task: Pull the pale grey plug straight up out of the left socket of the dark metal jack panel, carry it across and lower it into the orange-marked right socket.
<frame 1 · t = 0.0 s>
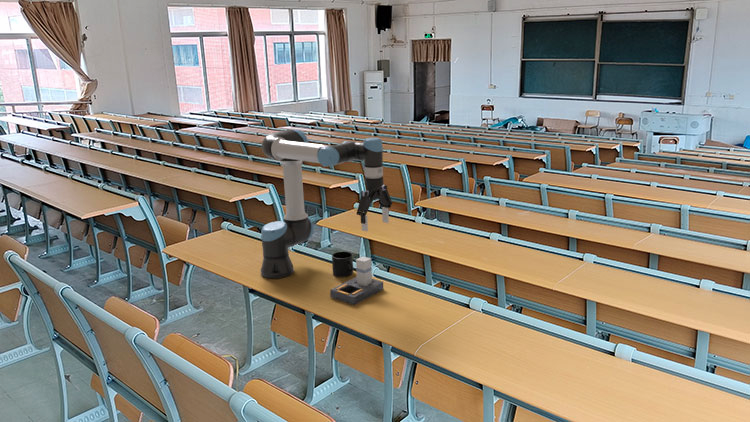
hand: (375, 226, 230), 28 cm above the table, fingers open, 13 cm apart
plug: (364, 289, 237), resting in jack panel
mug: (344, 274, 254), on the table
jack panel: (357, 293, 233), on the table
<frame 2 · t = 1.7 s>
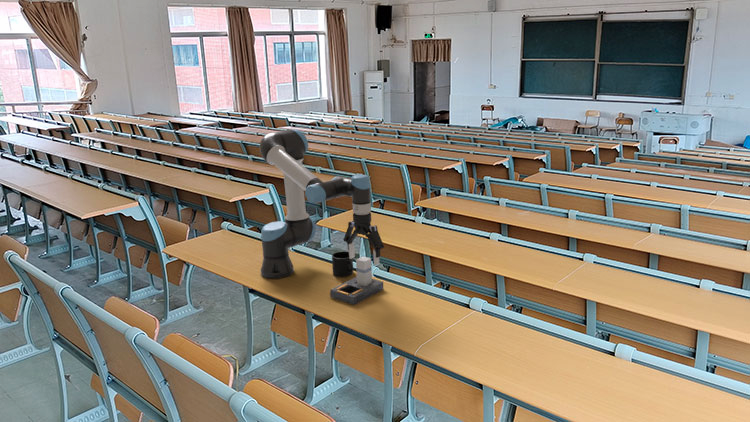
hand: (364, 261, 233), 13 cm above the table, fingers open, 13 cm apart
nothing on the table moved.
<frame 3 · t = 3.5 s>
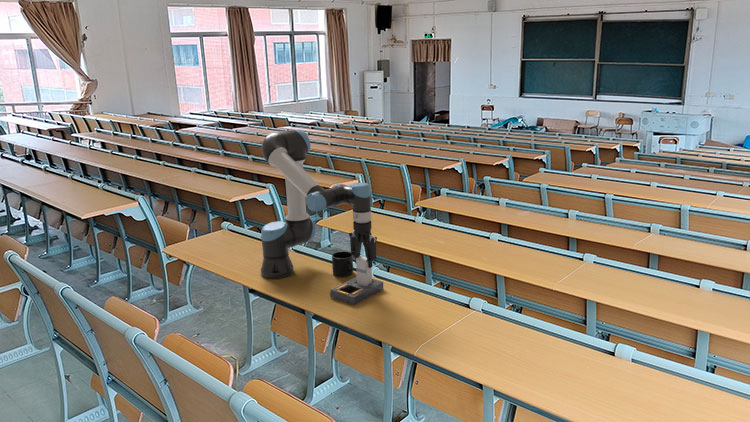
hand: (364, 272, 234), 8 cm above the table, fingers closed on plug, 5 cm apart
plug: (364, 289, 237), resting in jack panel, touching gripper
everything else where it was.
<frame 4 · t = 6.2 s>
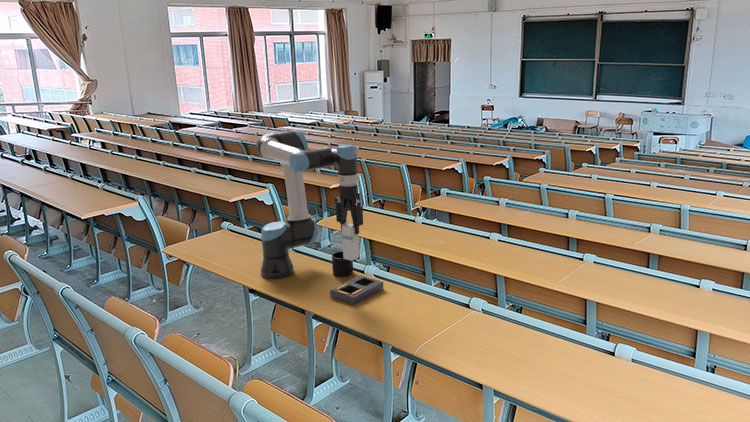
hand: (350, 240, 224), 25 cm above the table, fingers closed on plug, 5 cm apart
plug: (351, 257, 226), point 17 cm above the table, touching gripper
everything else where it was.
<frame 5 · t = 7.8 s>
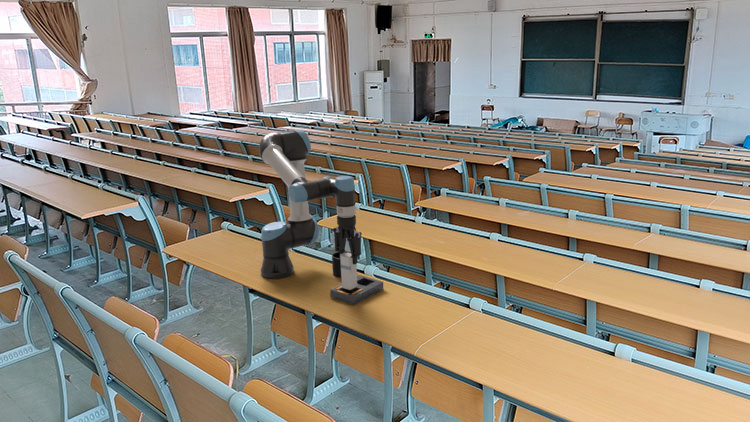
hand: (348, 269, 226), 12 cm above the table, fingers closed on plug, 5 cm apart
plug: (349, 287, 228), point 5 cm above the table, touching gripper
everything else where it was.
when the fingers open (10 cm above the table, at t = 9.0 s): plug drops 2 cm, resting in jack panel.
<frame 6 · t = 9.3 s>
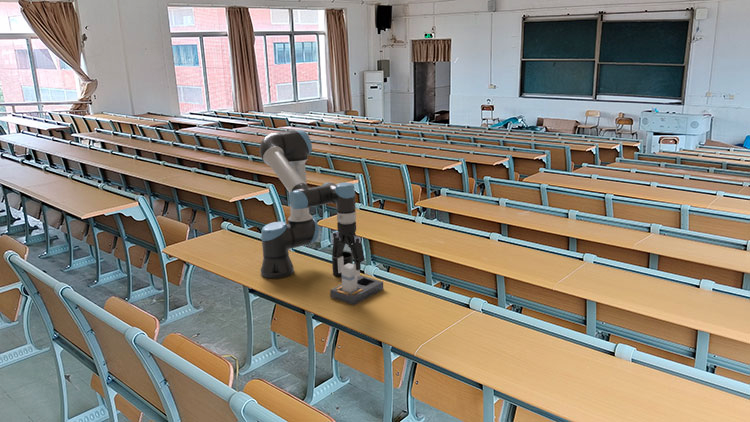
hand: (348, 274, 227), 10 cm above the table, fingers open, 8 cm apart
plug: (349, 297, 230), resting in jack panel
everything else where it was.
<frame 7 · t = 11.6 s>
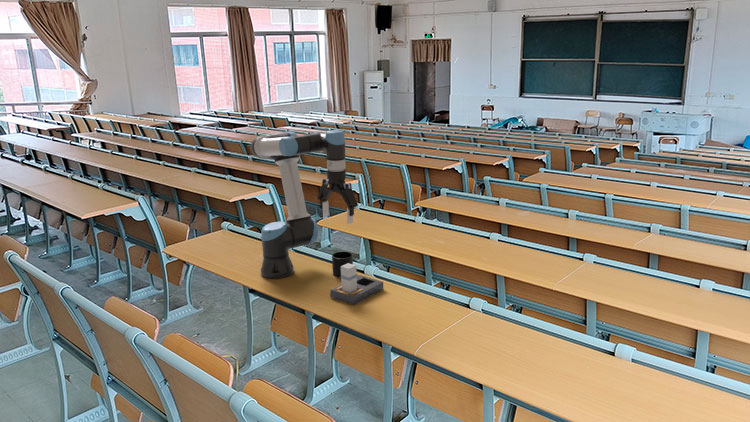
hand: (337, 219, 228), 32 cm above the table, fingers open, 13 cm apart
nothing on the table moved.
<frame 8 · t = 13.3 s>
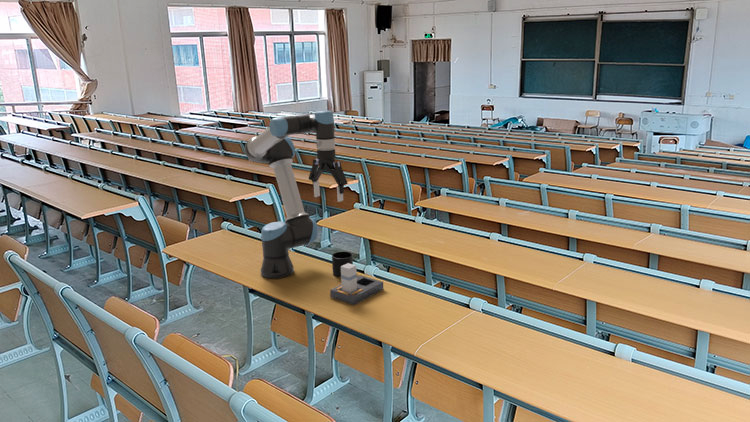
hand: (328, 198, 233), 39 cm above the table, fingers open, 13 cm apart
nothing on the table moved.
at the end: plug 0.1 cm from the target spot on the jack panel, point 0.0 cm above the jack panel's base; plug tilted 0°; the gripper is holding nothing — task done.
